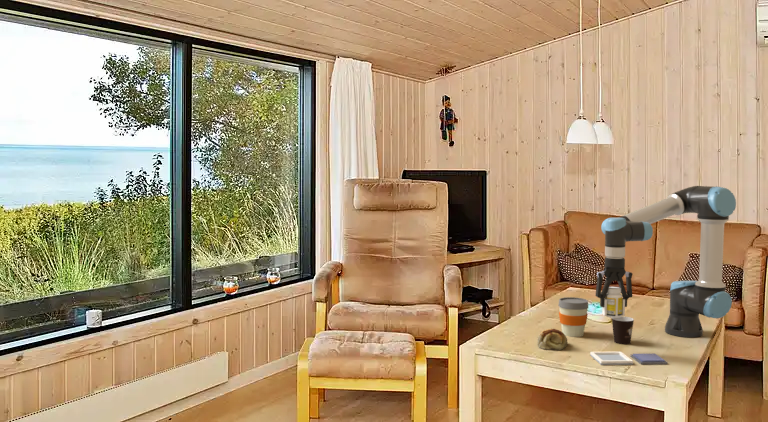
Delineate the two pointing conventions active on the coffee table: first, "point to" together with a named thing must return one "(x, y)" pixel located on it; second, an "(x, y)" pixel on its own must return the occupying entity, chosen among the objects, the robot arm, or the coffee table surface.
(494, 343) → the coffee table surface
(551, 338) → the pastry
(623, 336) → the coffee mug
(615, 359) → the picture frame
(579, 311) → the reusable coffee cup
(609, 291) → the supplement bottle
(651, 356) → the ink pad
